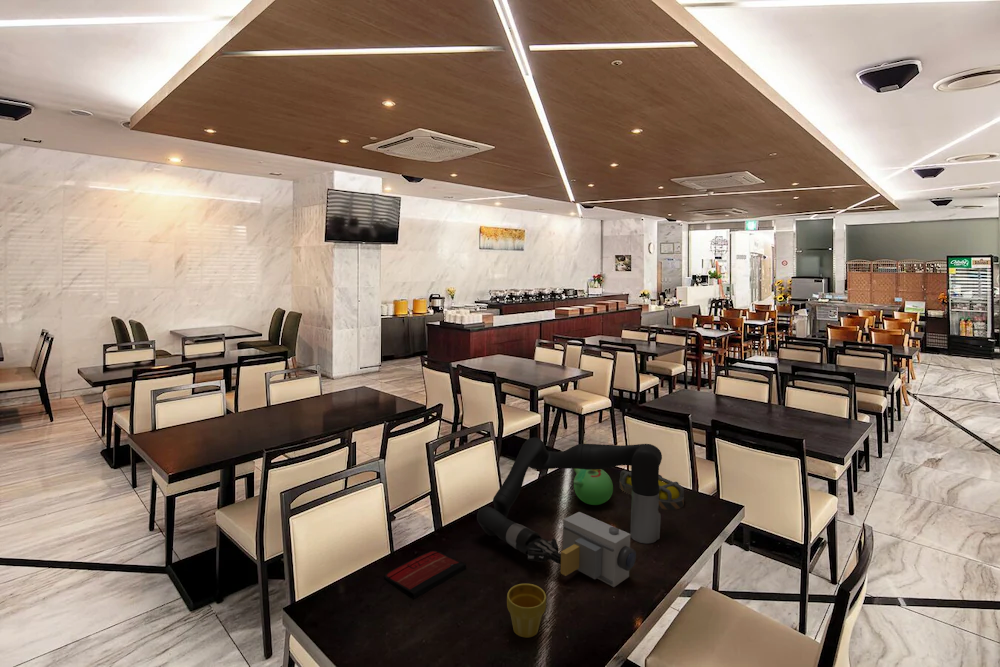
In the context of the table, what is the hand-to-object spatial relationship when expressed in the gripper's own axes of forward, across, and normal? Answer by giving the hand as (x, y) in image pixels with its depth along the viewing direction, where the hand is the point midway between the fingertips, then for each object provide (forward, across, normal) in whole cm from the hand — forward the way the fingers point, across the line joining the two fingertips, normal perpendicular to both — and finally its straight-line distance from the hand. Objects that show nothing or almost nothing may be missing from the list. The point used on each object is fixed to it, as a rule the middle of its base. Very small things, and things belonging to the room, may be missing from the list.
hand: (563, 560), depth 157 cm
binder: (-32, +29, -7) cm, 44 cm away
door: (+4, -4, -5) cm, 7 cm away
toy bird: (-28, -50, -7) cm, 58 cm away
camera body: (+4, -13, -7) cm, 15 cm away
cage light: (-15, -74, -8) cm, 76 cm away
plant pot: (+8, +24, -7) cm, 26 cm away
